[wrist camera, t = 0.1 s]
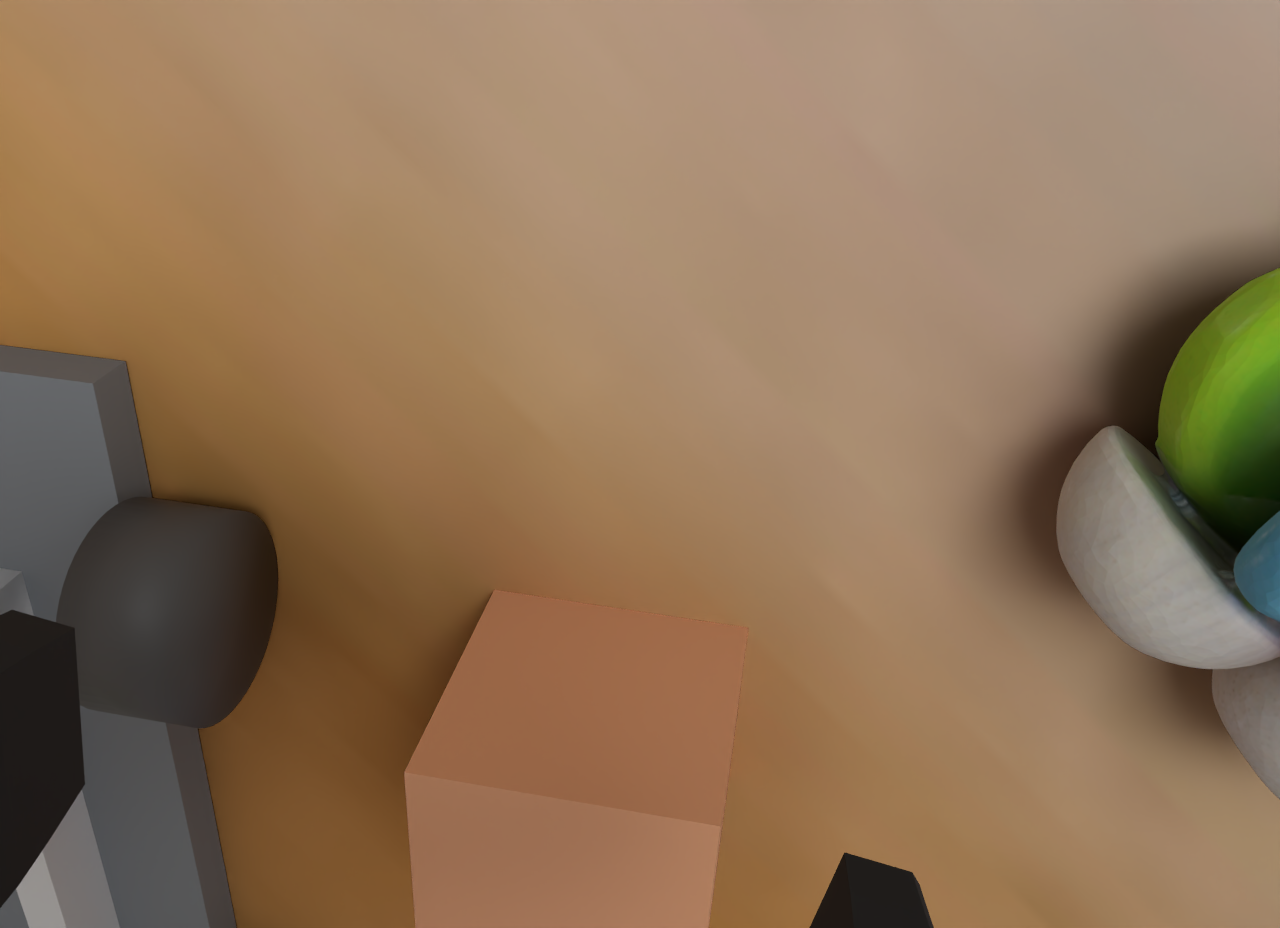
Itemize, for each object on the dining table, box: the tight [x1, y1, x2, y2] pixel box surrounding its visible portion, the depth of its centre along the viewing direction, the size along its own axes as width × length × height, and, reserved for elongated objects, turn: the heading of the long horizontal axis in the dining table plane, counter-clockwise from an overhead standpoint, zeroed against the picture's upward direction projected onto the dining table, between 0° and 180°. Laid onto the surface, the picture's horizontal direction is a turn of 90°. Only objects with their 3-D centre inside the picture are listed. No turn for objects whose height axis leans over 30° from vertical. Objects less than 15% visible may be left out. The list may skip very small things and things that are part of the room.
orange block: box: [404, 590, 748, 928], centre depth 20 cm, size 4×5×5 cm
